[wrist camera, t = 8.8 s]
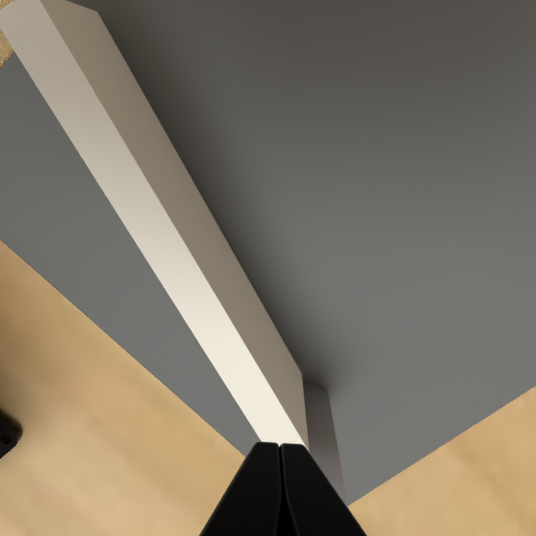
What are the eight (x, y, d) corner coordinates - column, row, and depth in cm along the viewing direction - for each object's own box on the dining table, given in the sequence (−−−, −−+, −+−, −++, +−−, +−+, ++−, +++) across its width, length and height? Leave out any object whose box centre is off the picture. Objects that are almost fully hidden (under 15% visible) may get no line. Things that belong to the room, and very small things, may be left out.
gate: (338, 414, 22) (357, 513, 17) (292, 433, 22) (298, 535, 17) (111, 4, 16) (40, -27, 11) (54, 38, 16) (-38, 23, 11)
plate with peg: (319, 516, 25) (333, 643, 19) (-76, 163, 19) (-223, 201, 13) (788, 214, 19) (999, 271, 14) (439, -433, 13) (561, -807, 7)
